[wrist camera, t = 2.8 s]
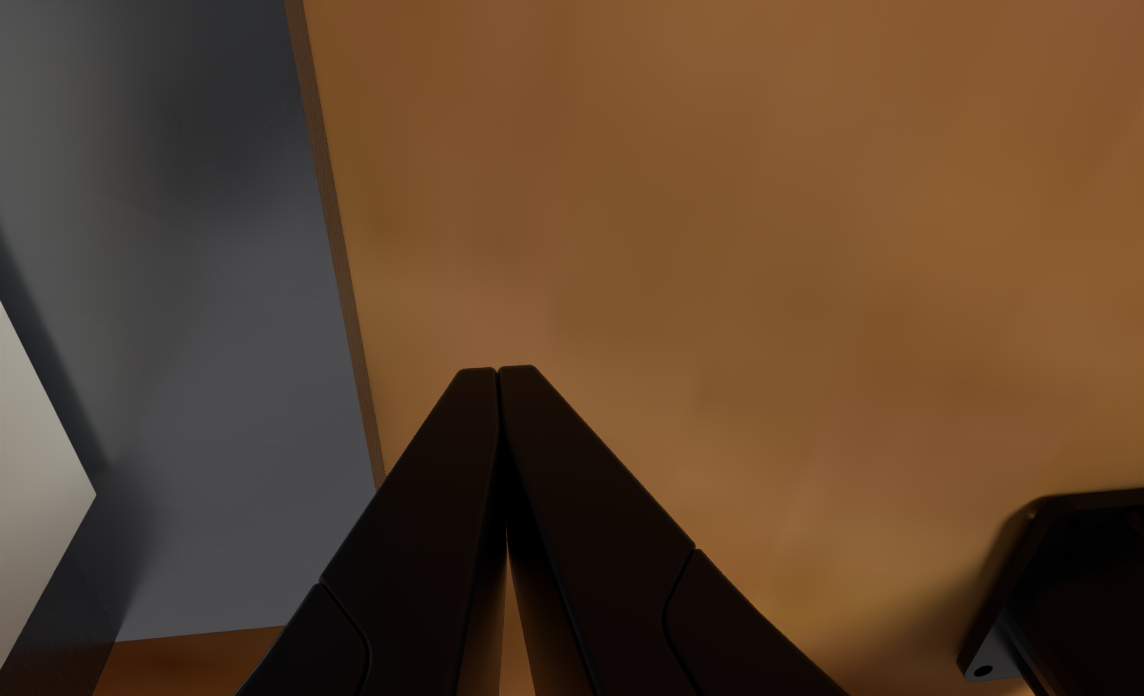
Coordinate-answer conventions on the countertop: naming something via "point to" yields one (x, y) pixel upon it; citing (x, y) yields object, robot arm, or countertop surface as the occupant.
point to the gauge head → (32, 488)
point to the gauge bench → (179, 317)
